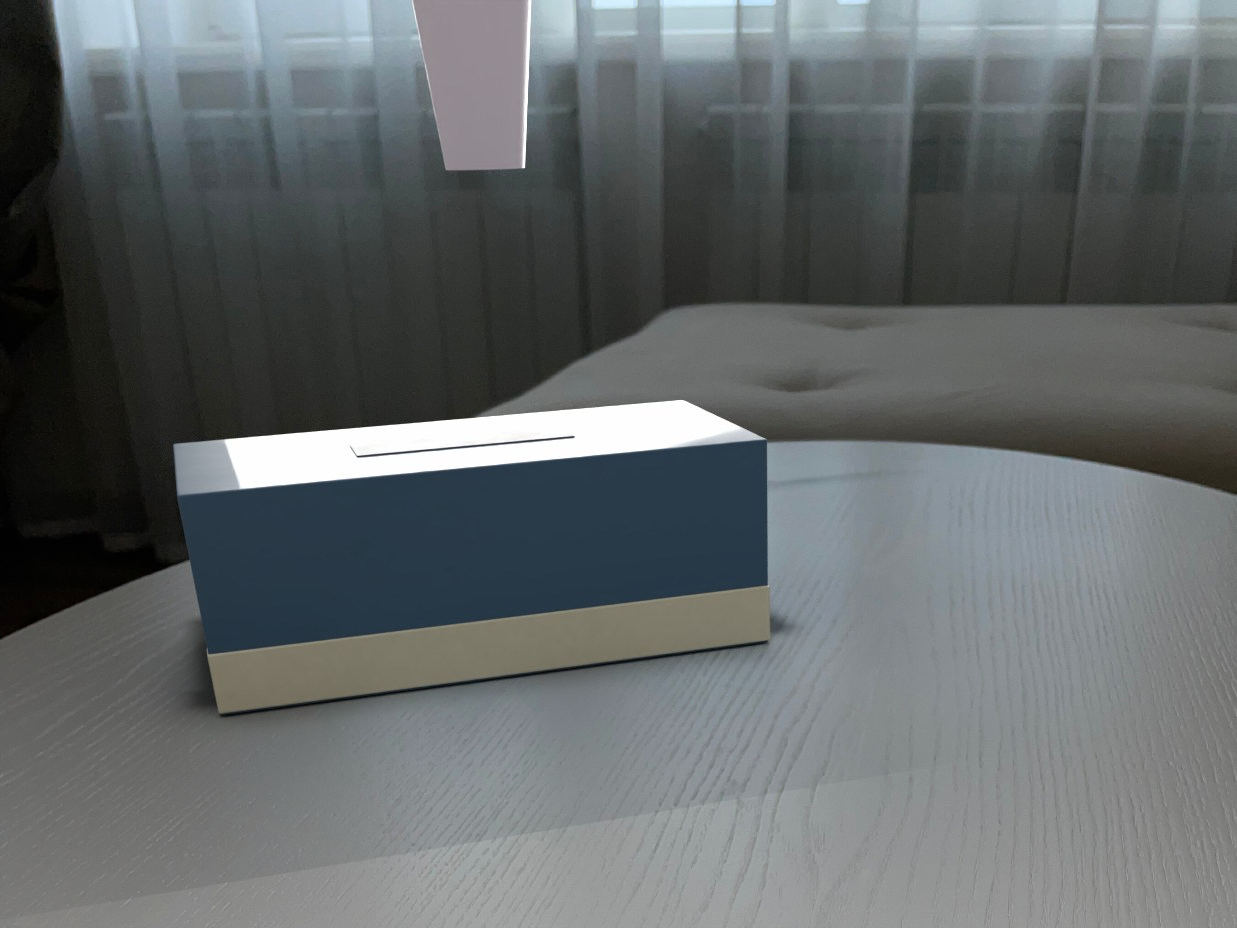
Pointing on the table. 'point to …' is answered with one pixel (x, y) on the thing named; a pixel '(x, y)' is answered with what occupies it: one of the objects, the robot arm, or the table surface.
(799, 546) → the table surface
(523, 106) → the smoothie
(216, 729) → the table surface
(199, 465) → the tissue box
